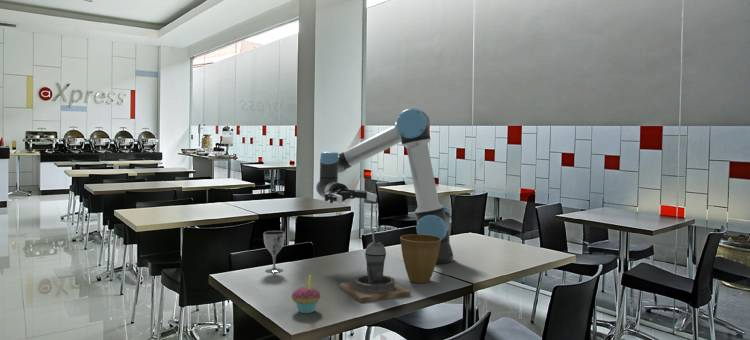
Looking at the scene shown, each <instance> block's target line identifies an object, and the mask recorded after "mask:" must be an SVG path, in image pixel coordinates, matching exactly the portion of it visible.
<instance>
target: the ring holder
mask: <svg viewBox="0 0 750 340" xmlns="http://www.w3.org/2000/svg"><path fill="white" fill-rule="evenodd" d="M339 285H340V287H339V288H341V289H342V290H343V291H344V292H345V293H347V294H348V295H350V296H351V297H352V298H353V299H355V300H356V301H357V302H358V303H367V302H375V301H382V300H391V299H397V298H406V297H410V296H411V291H410V290H408V289H407V288H405V287H403V286H401V285H400V284H398V283H396V282H395V278H394V277H391V276H390V275H389V276H388V275H384V274H383V279H382V284H379V285H372V284H368V278H367V274H364V275H360V276H357V277H355V278H354V281H347V282H340V284H339Z"/></svg>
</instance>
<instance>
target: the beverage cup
mask: <svg viewBox="0 0 750 340" xmlns="http://www.w3.org/2000/svg"><path fill="white" fill-rule="evenodd" d="M374 232H375V231H374V228H371V233H372V235H371V236H372V241H371V242H370V243H368V244H367V246H366V249H365V251H364V256H365V260H366V275H367V278H368V284H372V285H379V284H382V279H383V275H384V270H385V261H386V256H387V252H386V251H387V250H386V247H385V246H384V245H383V243H382V242H379V241H375V233H374Z"/></svg>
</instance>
